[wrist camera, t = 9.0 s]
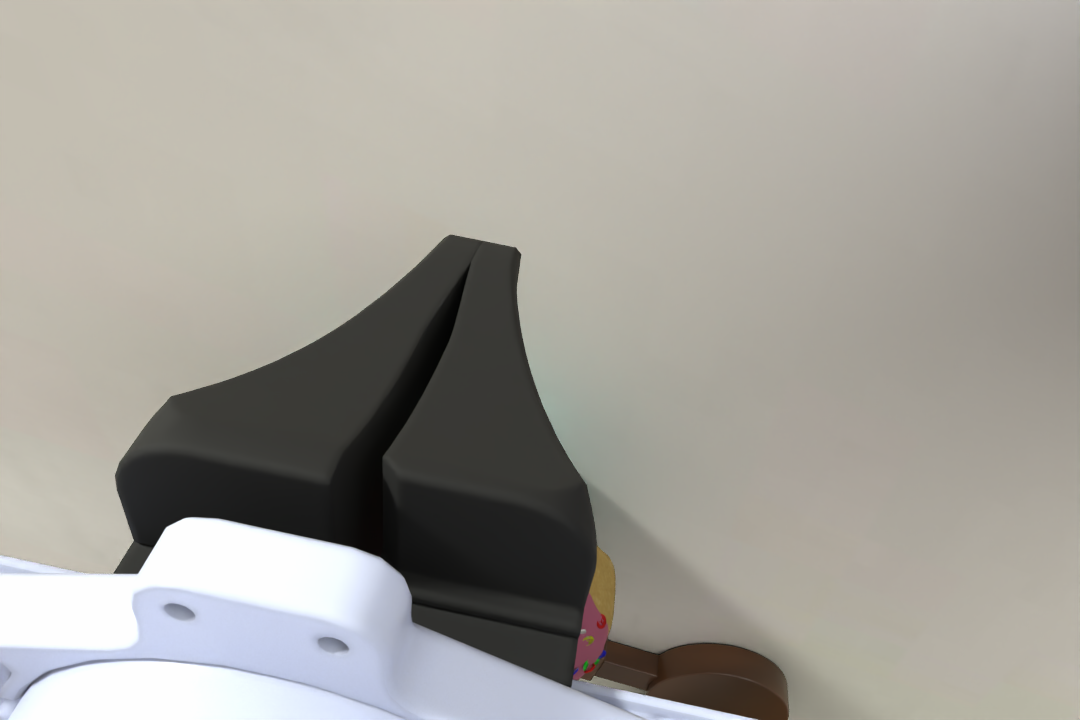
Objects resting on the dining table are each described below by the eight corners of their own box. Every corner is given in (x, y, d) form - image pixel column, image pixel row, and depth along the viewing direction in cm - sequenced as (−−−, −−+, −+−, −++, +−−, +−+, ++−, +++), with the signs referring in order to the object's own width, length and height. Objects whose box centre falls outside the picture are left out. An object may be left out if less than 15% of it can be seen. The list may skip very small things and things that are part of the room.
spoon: (812, 668, 31) (814, 699, 30) (750, 726, 34) (751, 756, 33) (211, 490, 29) (195, 517, 28) (210, 570, 33) (196, 596, 32)
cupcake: (534, 587, 30) (455, 996, 21) (315, 479, 28) (127, 884, 19) (685, 463, 25) (665, 941, 16) (428, 318, 23) (241, 777, 14)
